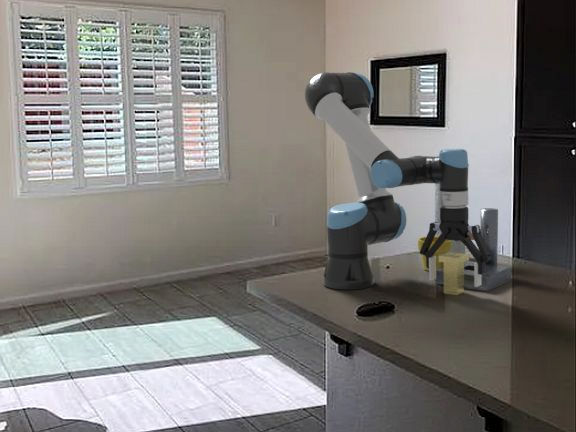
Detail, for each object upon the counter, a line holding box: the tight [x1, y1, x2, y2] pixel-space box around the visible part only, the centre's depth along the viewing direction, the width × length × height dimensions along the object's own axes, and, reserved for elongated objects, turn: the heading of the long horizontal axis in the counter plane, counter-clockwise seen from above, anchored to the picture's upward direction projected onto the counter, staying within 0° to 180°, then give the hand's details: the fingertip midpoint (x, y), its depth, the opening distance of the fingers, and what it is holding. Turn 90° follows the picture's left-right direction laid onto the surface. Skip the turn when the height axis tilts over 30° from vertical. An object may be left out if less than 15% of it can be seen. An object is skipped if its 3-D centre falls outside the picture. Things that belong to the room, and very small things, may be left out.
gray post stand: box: [434, 207, 512, 292], centre depth 198 cm, size 16×21×20 cm
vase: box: [434, 183, 466, 254], centre depth 228 cm, size 10×10×27 cm
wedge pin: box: [439, 252, 470, 296], centre depth 185 cm, size 6×6×11 cm
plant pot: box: [417, 236, 451, 272], centre depth 214 cm, size 10×10×10 cm
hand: (454, 282), depth 186 cm, fingers open, 13 cm apart
